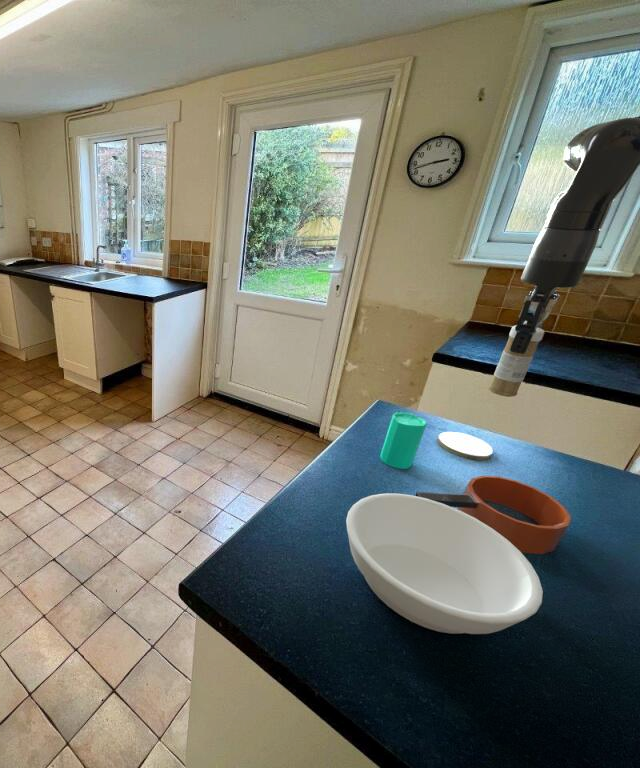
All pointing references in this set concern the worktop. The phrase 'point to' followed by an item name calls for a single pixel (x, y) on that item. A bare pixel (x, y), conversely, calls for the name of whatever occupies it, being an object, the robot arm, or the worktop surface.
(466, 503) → the pan
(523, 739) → the worktop surface
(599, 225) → the robot arm
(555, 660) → the worktop surface
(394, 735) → the worktop surface
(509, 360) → the sprinkles bottle
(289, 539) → the worktop surface
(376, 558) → the bowl
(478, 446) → the disc
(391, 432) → the candle
